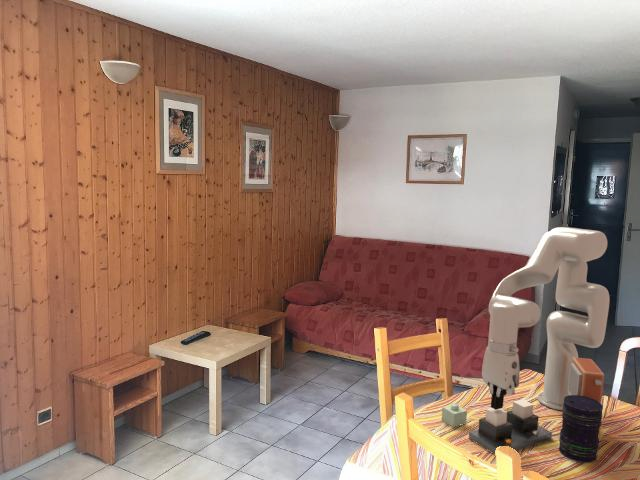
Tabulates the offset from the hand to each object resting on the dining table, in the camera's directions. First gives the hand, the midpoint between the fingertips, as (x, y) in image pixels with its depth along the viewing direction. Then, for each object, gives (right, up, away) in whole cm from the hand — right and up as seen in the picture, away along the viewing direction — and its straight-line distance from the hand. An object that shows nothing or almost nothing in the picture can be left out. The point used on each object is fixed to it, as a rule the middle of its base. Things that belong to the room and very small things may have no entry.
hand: (496, 407), depth 152 cm
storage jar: (+21, -12, -4) cm, 25 cm away
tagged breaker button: (0, -6, +1) cm, 6 cm away
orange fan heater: (+28, -10, +8) cm, 31 cm away
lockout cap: (-9, -8, +12) cm, 18 cm away
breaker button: (+10, -5, +6) cm, 13 cm away
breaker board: (+5, -10, +3) cm, 12 cm away
